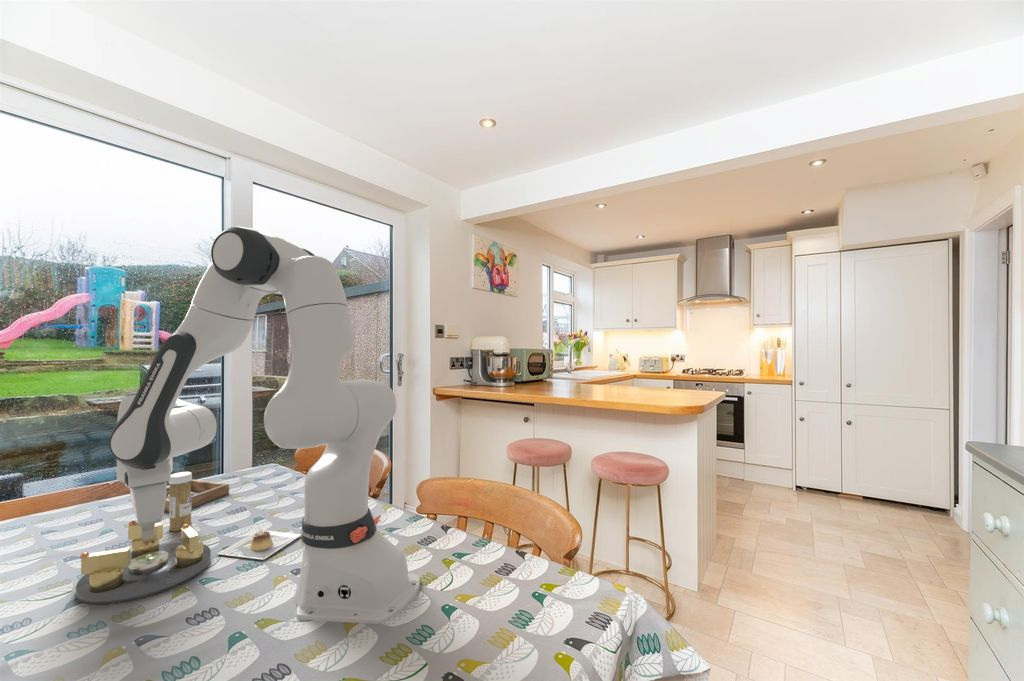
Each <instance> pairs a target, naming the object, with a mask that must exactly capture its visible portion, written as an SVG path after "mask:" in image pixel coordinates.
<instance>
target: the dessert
mask: <svg viewBox="0 0 1024 681" xmlns="http://www.w3.org/2000/svg"><path fill="white" fill-rule="evenodd" d="M258 529H259V530H256V531H255V532H252V533H251V534H249V535H248V536H246V537H244V538H242V539H240V540H239V541H237V542H235V543H233V544H231V545H230V546H228V547H226V548H225V549H223V550H221V551H219V552H217V553H216V555H219V556H226V557H233V558H234V557H235V558H242V559H249V560H250V559H251V560H260V561H264V560H266V559H268V558H269V557H270V556H272V555H274V554H275V553H277V552H278V551H280V550H282V549H283V548H284V547H286V546H287V545H289V544H290V543H292V542H293V541H295V540H296V539H298V538H300V537H301V536H302V533H295V532H284V531H278V530H277V531H275V530H266V529H263V528H262V527H261V528H259V527H258ZM272 537H280V538H288V539H291V540H290V541H288V542H287V543H285V544H284V545H282V546H281V547H279V548H278V549H276V550H274V551H273V552H271V553H270V554H268V555H267V556H265V557H264V558H262V557H254V556H245V555H239V554H237V555H236V554H229V553H230V552H232V551H233V550H235V549H237V548H239V547H241V546H243V545H244V544H246V543H248V542H249V541H251V543H250V548H249V549H250V551H254V552H255V551H256V552H258V551H263V550H267V549H269V548H270V547H272V546H273V544H274V543H273V541H272Z"/></svg>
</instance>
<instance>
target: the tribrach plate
mask: <svg viewBox="0 0 1024 681" xmlns="http://www.w3.org/2000/svg"><path fill="white" fill-rule="evenodd" d="M180 545H182V543H181V541H180V542H170V543H163V544H159V551H155V552H150V553H146V554H143V555H140V556H138V557H136V558H132V551H131V564H130V565H129V566H128V567H125V568H123V582H122V583H121V584H120V585H119V586H117V587H115V588H113V589H110V590H107V591H104V592H98V593H92V592H90V591H89V574H84V575H82V577H81V578H80V579H79V580H78V581H77V583H76V586H75V596H76V597H75V598H76V599H77V600H78V601H79V602H80V603H83V604H85V605H91V606H92V605H93V606H110V605H118V604H124V603H130V602H134V601H139V600H144V599H146V598H147V599H148V598H150V597H154V596H157V595H160V594H163V593H166V592H169V591H171V590H173V589H176V588H178V587H181V586H182V585H186V583H188V582H190V581H192V580H193V579H196V578H197V577H199V576H200V575H201V574H202V573H204V572H205V570H207V569H208V567H209V566H210V565H211V564H210V563H211V560H212V559H211V548H210V546H208V545H206V544H204V543H203V559H202V560H201V561H200V562H198V563H196V564H193V565H190V566H186V567H178V566H176V548H177V547H178V546H180Z"/></svg>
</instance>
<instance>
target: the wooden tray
mask: <svg viewBox="0 0 1024 681" xmlns="http://www.w3.org/2000/svg"><path fill="white" fill-rule="evenodd" d="M167 491H170V485H169V486H167V490H166V492H167ZM191 492H199V493H196V494H193V496H191V509H192V508H196V507H197V506H201V505H205V504H206V503H210V501H214V500H216V499H219V498H221V497H224V496H227V495H230V483H225V482H216V481H215V482H214V481H209V480H208V481H207V480H198V479H192V480H191ZM164 512H168V513H169V499H166V500H165V509H164Z"/></svg>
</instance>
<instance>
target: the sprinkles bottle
mask: <svg viewBox="0 0 1024 681" xmlns="http://www.w3.org/2000/svg"><path fill="white" fill-rule="evenodd" d="M191 480H193V474H192V472H191V471H181V472H180V471H179V472H175V473H172V474H171V479H170V481H168V484H169V486H170V495H169V512H168V517H169V528H168V531H171V532H179V531H180V532H181V528H182V526H183V525H185V524H188V525H189V526H190V527H191V526H192V525H193V523H192V508H191V492H192V491H191Z"/></svg>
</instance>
